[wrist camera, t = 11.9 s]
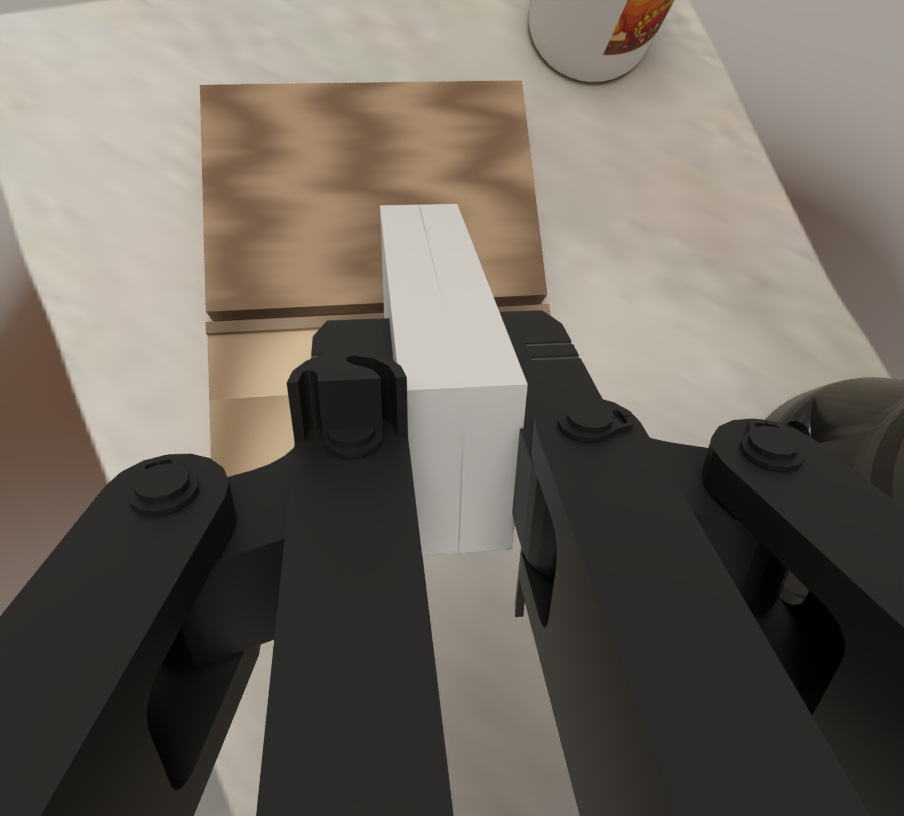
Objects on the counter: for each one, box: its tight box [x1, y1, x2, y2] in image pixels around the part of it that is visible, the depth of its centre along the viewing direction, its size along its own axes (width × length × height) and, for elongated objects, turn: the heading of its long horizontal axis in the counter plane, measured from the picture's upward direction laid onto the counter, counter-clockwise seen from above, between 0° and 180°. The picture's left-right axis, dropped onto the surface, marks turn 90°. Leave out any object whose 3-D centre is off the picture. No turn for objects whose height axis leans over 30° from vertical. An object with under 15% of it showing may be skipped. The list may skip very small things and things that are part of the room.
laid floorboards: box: [206, 304, 550, 477], centre depth 37 cm, size 18×8×2 cm, turn 95°
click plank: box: [200, 81, 547, 321], centre depth 39 cm, size 18×2×13 cm
